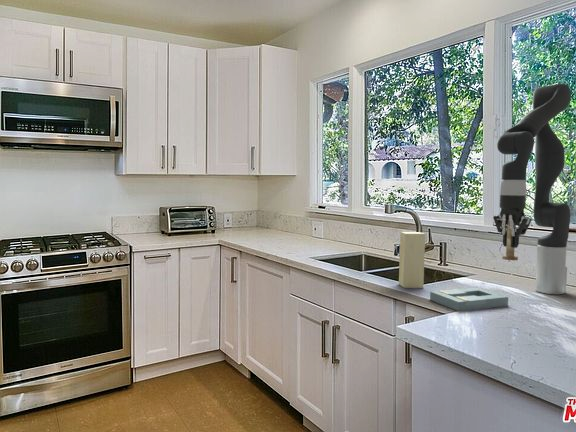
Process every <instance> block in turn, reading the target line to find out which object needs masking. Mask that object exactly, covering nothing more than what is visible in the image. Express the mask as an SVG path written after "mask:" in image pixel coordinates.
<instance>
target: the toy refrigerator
mask: <svg viewBox="0 0 576 432" xmlns="http://www.w3.org/2000/svg"><path fill="white" fill-rule="evenodd" d="M425 248H426V233H424V232H421V231H418V232H417V231H400V232H399V260H398V261H399V263H398V264H399V268H398V269H399V270H398V272H399V273H398V285H399V286H400V287H402V288H403V289H404V288H405V289H410V288H411V289H414V288H415V289H424V282H425V281H424V279H425V278H424V277H425V251H426V249H425Z"/></svg>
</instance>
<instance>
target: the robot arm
mask: <svg viewBox="0 0 576 432" xmlns="http://www.w3.org/2000/svg"><path fill="white" fill-rule="evenodd" d="M571 100H572V92H571V89H570V86H569V85H567V84H566V83H556V84H549V85H544V86H540V87H539V86H538V87H536V88H535V89H534V91H533V94H532V102H531V103H532V110H531V111H529V112H527V113H526V114H525V115H524V116H523V117H521V119H520V120H519V122H517V124H515V125H513V126H511V127H510V128H508V129H506V130H505V131H504V132H503V133H501V135H500V136H499V137H498V139H497V140H496V141H497V142H496V148H497V150H498V151H499V152H500V154H501V155H502V154H503V155H516V157H515V158H514V159H513V160H510V161H507V162H504V163H503V164H502V166H501V167H502V169H501V181H500V190H499V208H500V213H499V214H498V215H493V217H492V219H493V220H494V224H495V226H496V230H497V233H501V234H502V244H503V247H505V248H506V245H507V225H508V220H510V229H511V232H512V236H511V247H512V248H515V249H517V248H518V247H519V244H520V243H519V242H520V236H524V235H526V233H527V231H528V229H529V228H530V224H531V223H532V218H530V217H527V216H525V211H524V209H526V205H527V204H526V203H527V183H526V182H527V167H528V164H529V160H530V157H531V154H532V152H533V151H534V163H535V164H534V165H535V166H534V168H535V188H534V190H535V191H534V192H535V193H534V199H533V200H534V201H533V220H534V223H535V224H536V225H537V226H539V227H543V228H552V232H551V233H549V234H547V235H543V236H539V237H538V238H537V247H536V270H535V271H536V272H535V288H534V289H535V291H536V292H539V293H542V294H546V295H564V294H565V293H567V278H568V277H567V274H568V267H567V266H566V261H567V244H568V239H569V233H570V232H569V231H570V225H571V224H570V222H571V209H570V206H569V204H567V203H565V202H552V201H551V202H550V194H551V193H550V192H551V190H552V187H553V185H554V184H555V182H556V181H557V179H558V178H559V177H560V175H561V173H562V171H563V170H564V167H565V147H564V144H563V142H562V141H561V139H560V138H559V137H558V135H557V134H556V133H555V131H553V129H552V127H551V125H550V123H549V122H550V121H551V120H553V119H554V118H555V117H556V116H558V115H559V114H560V113H562V112H564V110H566V109H567V108H568V107H569V105H570V103H571ZM533 149H534V150H533ZM515 225H516V226H515Z"/></svg>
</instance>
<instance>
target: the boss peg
mask: <svg viewBox="0 0 576 432" xmlns="http://www.w3.org/2000/svg"><path fill="white" fill-rule="evenodd" d="M515 226H517V225H515ZM506 230H507V245H506V247H505V248H506V249H505V254H504V255H501V258H502V260H505V261H518V259H519V256H517V255H515V250H516V248H512V247H511V236H512V232H511V229H510V220H508V225H507V229H506Z"/></svg>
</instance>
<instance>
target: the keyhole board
mask: <svg viewBox="0 0 576 432" xmlns="http://www.w3.org/2000/svg"><path fill="white" fill-rule="evenodd" d="M429 292H430V293H429V294H430V295H429V300H430V301H432V302H435V303H437V304H439V305H442V306H445V307H446V308H450V309H452V310H454V311H456V312H461V311H462V312H463V311H473V310H479V309H482V310H483V309H489V308H499V307H500V308H501V307H508V306H509V296H507V295H506V296H505V295H503V294H500V293H497V292H493V291H490V290H486V289H484V288H480V287H469V288H468V287H467V288H456V289H446V290H445V289H444V290H441V289H440V290H434V291H433V290H432V291H429Z"/></svg>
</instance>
